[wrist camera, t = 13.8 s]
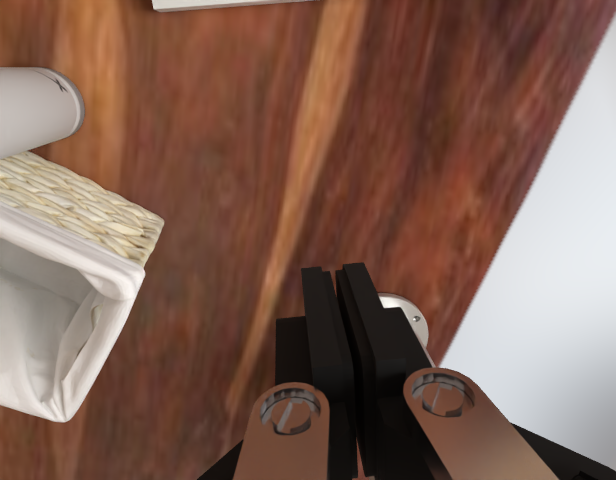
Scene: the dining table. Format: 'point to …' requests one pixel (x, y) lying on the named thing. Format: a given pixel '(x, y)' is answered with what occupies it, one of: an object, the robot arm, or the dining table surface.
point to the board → (209, 4)
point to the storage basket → (63, 281)
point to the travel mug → (36, 108)
